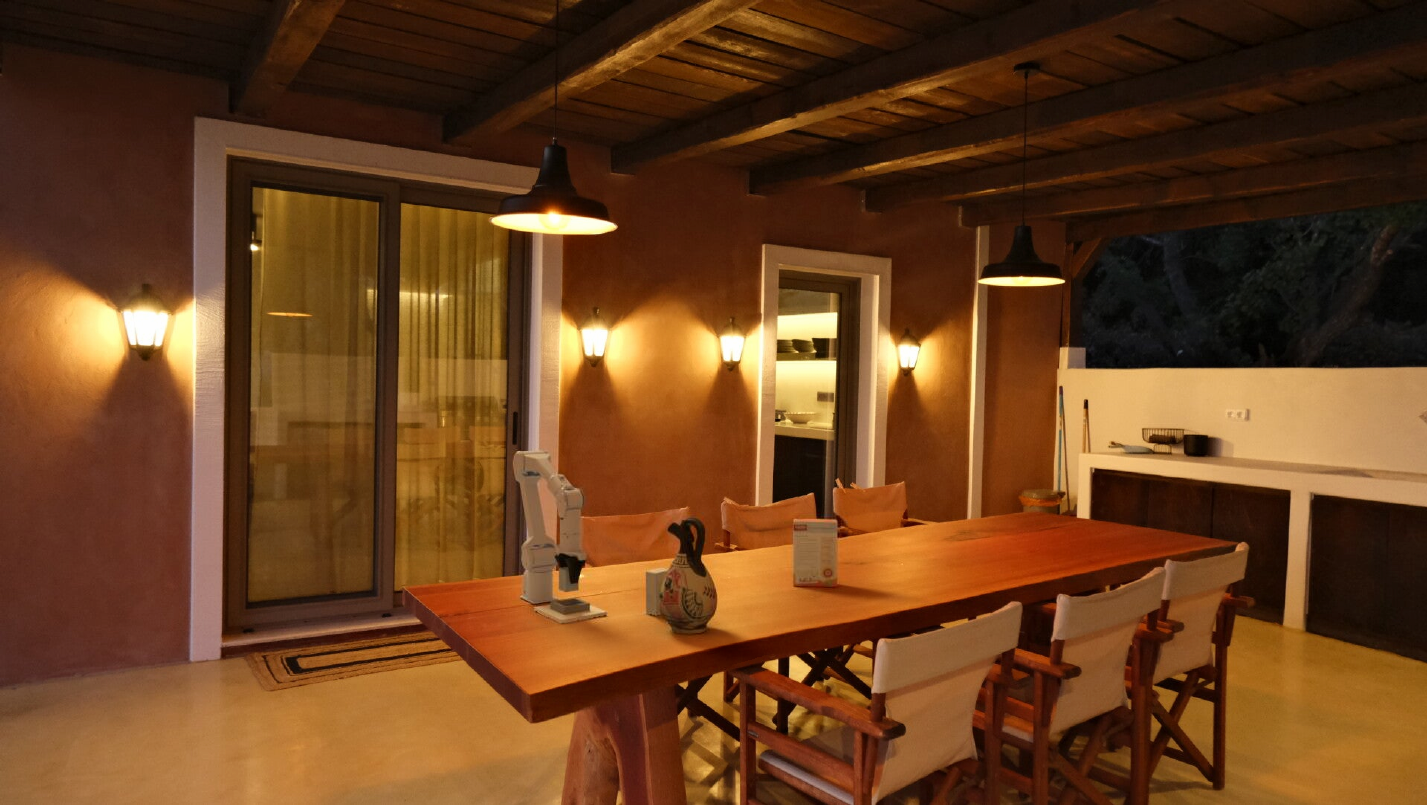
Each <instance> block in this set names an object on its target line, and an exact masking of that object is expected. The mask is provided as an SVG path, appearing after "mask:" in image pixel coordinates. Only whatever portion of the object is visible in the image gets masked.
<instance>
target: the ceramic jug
mask: <svg viewBox="0 0 1427 805" xmlns="http://www.w3.org/2000/svg"><path fill="white" fill-rule="evenodd" d="M692 526H693V527H694V528H695V530H696V539H695V535H694V533H693V531H692V529H691V527H692ZM667 532H668V533H669V534H671V535H673V536H675V538H677V539H678V540H679V543H680V545H679V550H678V552H677V554H676V556H675V558H674V559H673V560H672V562H671V564H670V565H669V567H668V568H667V569H668V571H667V573H666V574H665V576H664V578H663V580H662V584H661V588H660V593H659V608H660V612H661V615H662V618H664V620H665V621H666V622H667V624H668V625H669V626H670V628H671V631H672V632H674V633H676V632H678V633H677V634H680V633H681V635H682V634H685V635H687V634H688V635H694V634H701V633H704V632H705V631H706V630H707V629H708V625H707V624H709V622H710V621H711V620H712V618H713V617H714V616H715V614H716V611H717V608H718V593H717V589H716V586H715V582H714V580H713V577H712V576H711V573H710V571H709V570H708V568H707V567H706V565H705V564H704V562H703V561H702V556H703V555H702V554H703V552H704V548H705V547H704V546H705V542H706V527H705V525H704V523H703V522H702V521H701V520H699V518H696V517H689V518H688V517H687V518H686V519H682V520H681V522H680V524H678V523H677V522H674V521H673V522H672V523H671V524H670V525H669V526H668V527H667ZM693 543H695V546H694V544H693ZM717 636H718V635H717Z"/></svg>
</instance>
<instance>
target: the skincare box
mask: <svg viewBox="0 0 1427 805" xmlns="http://www.w3.org/2000/svg"><path fill="white" fill-rule="evenodd" d="M668 569H669V568H663V567H658V568H653V569H650V570H646V571H645V615H650V614H652V615H651V616H654V615H655V616H654V617H657V615H658V616H661V615H662V614H661V612H660V608H659V593H660V588H661V584H662V580H663V578H664V576H665V574H666V573H667V571H668ZM660 614H661V615H660Z"/></svg>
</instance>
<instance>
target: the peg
mask: <svg viewBox="0 0 1427 805" xmlns="http://www.w3.org/2000/svg"><path fill="white" fill-rule="evenodd" d="M579 581H580V580H579ZM579 581H578V583H575V584H571V583H570V579H569V570H568V567H562V568H559V567H558V591H562V592H564V593H570V592H577V591H579V589H580V588H579V583H580V582H579Z"/></svg>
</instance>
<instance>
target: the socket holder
mask: <svg viewBox="0 0 1427 805" xmlns="http://www.w3.org/2000/svg"><path fill="white" fill-rule="evenodd" d="M549 602H550V603H549V604H545V605H540V606H534V607H533V611H534V612H535V611H537V612H538V614H540V615H542V616H543V617H547V618H548V617H549V618H548V619H550V620H551V621H554V620H555V622H556V621H557V623H559V624H561V625H562V623H563V624H568V623H572V622H578V621H577V620H579V621H583V620H590V619H593V618H592V617H596V618H600V617H599V616H601V617H604V616H603V615H606V616H607V615H608V613H607V611H606V610H603V609H601V608H599V607H596V606H594V605H592V604H591V603H590V602H588V601H585V600H583V599H580V598H578V597H571V598H564V599H558V600H555V601H549ZM537 612H536V613H537ZM589 618H590V619H589Z"/></svg>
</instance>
